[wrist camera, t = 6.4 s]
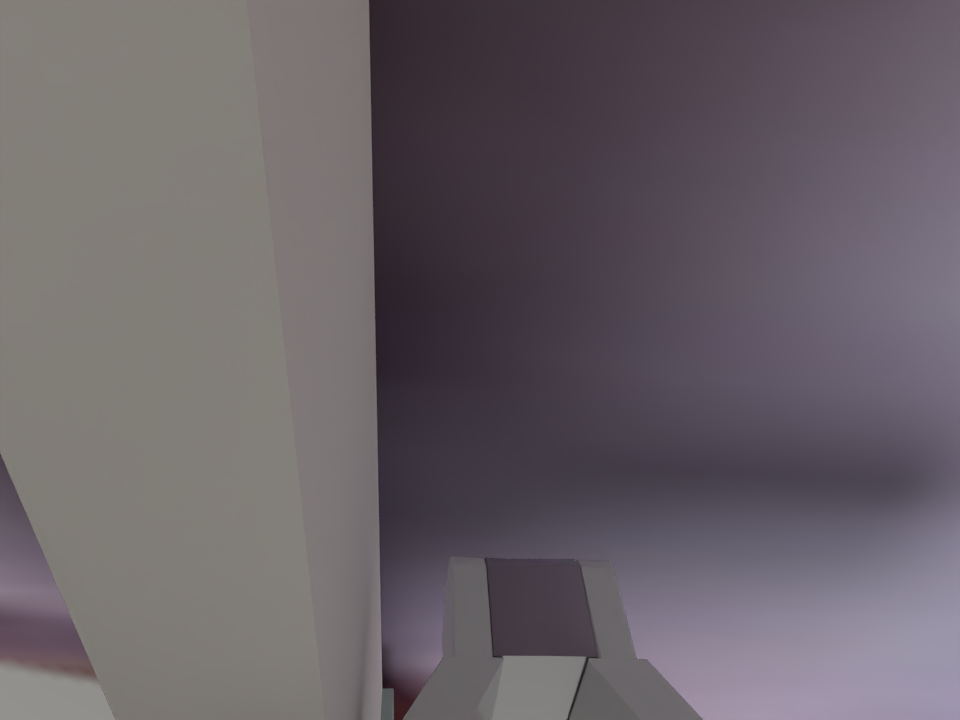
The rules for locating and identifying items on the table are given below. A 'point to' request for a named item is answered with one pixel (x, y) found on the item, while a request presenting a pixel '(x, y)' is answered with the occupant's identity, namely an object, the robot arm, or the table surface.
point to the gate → (197, 346)
